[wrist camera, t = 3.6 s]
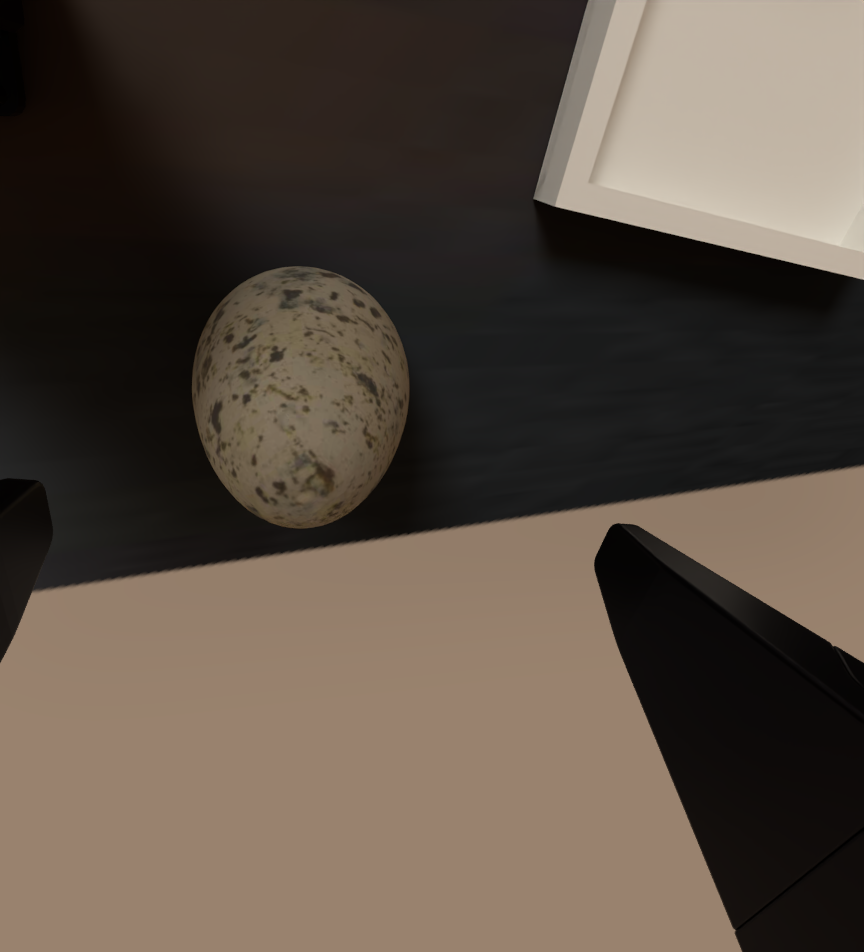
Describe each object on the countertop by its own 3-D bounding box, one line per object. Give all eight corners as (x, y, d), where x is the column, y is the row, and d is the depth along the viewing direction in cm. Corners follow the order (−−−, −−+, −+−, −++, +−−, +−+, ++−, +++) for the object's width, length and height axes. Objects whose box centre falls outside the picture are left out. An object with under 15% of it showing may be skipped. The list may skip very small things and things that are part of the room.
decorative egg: (191, 263, 17) (65, 396, 9) (374, 228, 17) (420, 324, 9) (253, 425, 20) (205, 631, 12) (406, 393, 21) (461, 573, 12)
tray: (533, 198, 18) (554, 206, 16) (717, -466, 11) (786, -570, 9) (830, 269, 21) (873, 282, 19) (1107, -217, 14) (1209, -261, 13)
